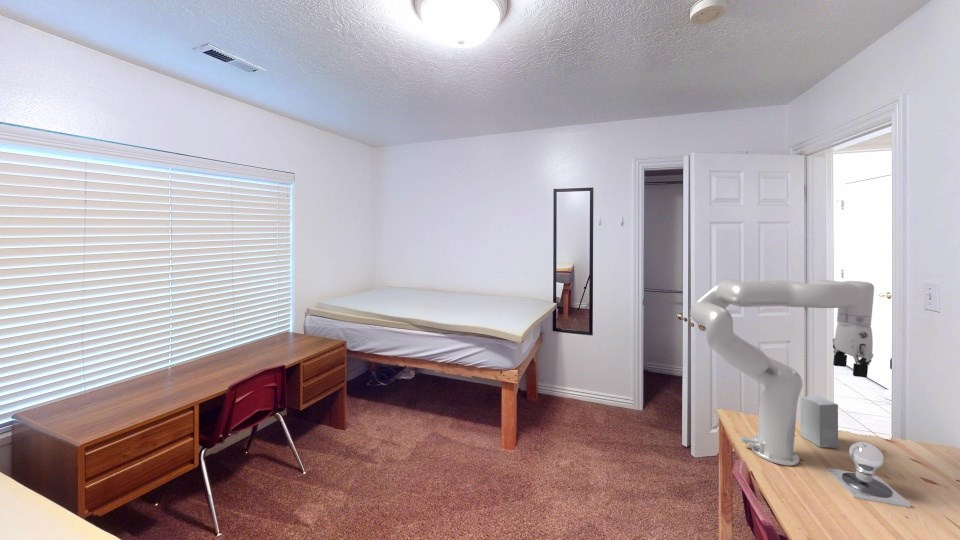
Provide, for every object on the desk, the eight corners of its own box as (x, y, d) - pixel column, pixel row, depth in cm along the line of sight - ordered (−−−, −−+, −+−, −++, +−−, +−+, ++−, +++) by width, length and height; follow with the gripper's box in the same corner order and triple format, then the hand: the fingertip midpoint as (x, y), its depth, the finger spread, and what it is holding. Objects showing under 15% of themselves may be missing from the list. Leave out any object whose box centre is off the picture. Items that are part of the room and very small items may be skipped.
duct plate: (853, 497, 99) (853, 492, 99) (827, 470, 111) (828, 467, 110) (910, 507, 95) (910, 503, 95) (877, 479, 107) (877, 475, 107)
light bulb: (866, 475, 106) (870, 438, 105) (888, 492, 99) (892, 451, 98) (840, 473, 108) (843, 435, 107) (859, 488, 101) (863, 449, 100)
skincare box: (838, 448, 122) (842, 405, 121) (817, 448, 123) (820, 404, 122) (816, 435, 131) (820, 394, 130) (796, 434, 131) (799, 394, 130)
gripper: (890, 326, 103) (884, 382, 105) (850, 315, 120) (846, 363, 121) (857, 324, 106) (852, 379, 107) (822, 313, 122) (819, 361, 123)
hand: (849, 371), depth 114 cm, fingers open, 9 cm apart
